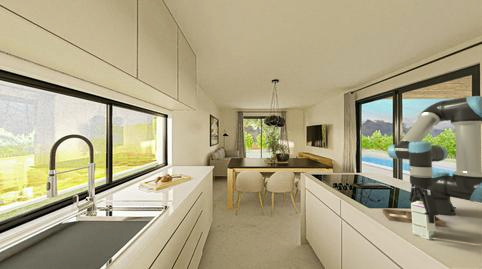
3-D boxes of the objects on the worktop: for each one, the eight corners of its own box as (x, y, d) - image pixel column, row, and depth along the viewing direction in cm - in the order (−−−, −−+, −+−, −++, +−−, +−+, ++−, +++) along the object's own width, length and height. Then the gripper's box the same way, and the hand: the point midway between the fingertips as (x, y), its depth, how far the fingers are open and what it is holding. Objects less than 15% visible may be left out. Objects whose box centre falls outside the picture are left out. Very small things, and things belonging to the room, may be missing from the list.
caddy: (432, 219, 103) (431, 213, 103) (445, 228, 92) (444, 222, 92) (382, 213, 112) (382, 208, 112) (389, 221, 101) (388, 216, 101)
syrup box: (429, 240, 82) (427, 206, 82) (412, 234, 87) (410, 202, 88) (435, 237, 85) (433, 203, 85) (417, 231, 90) (416, 200, 90)
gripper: (400, 171, 100) (401, 212, 99) (423, 180, 77) (425, 234, 76) (418, 172, 97) (420, 214, 96) (448, 182, 74) (451, 238, 73)
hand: (422, 223), depth 86 cm, fingers open, 13 cm apart
